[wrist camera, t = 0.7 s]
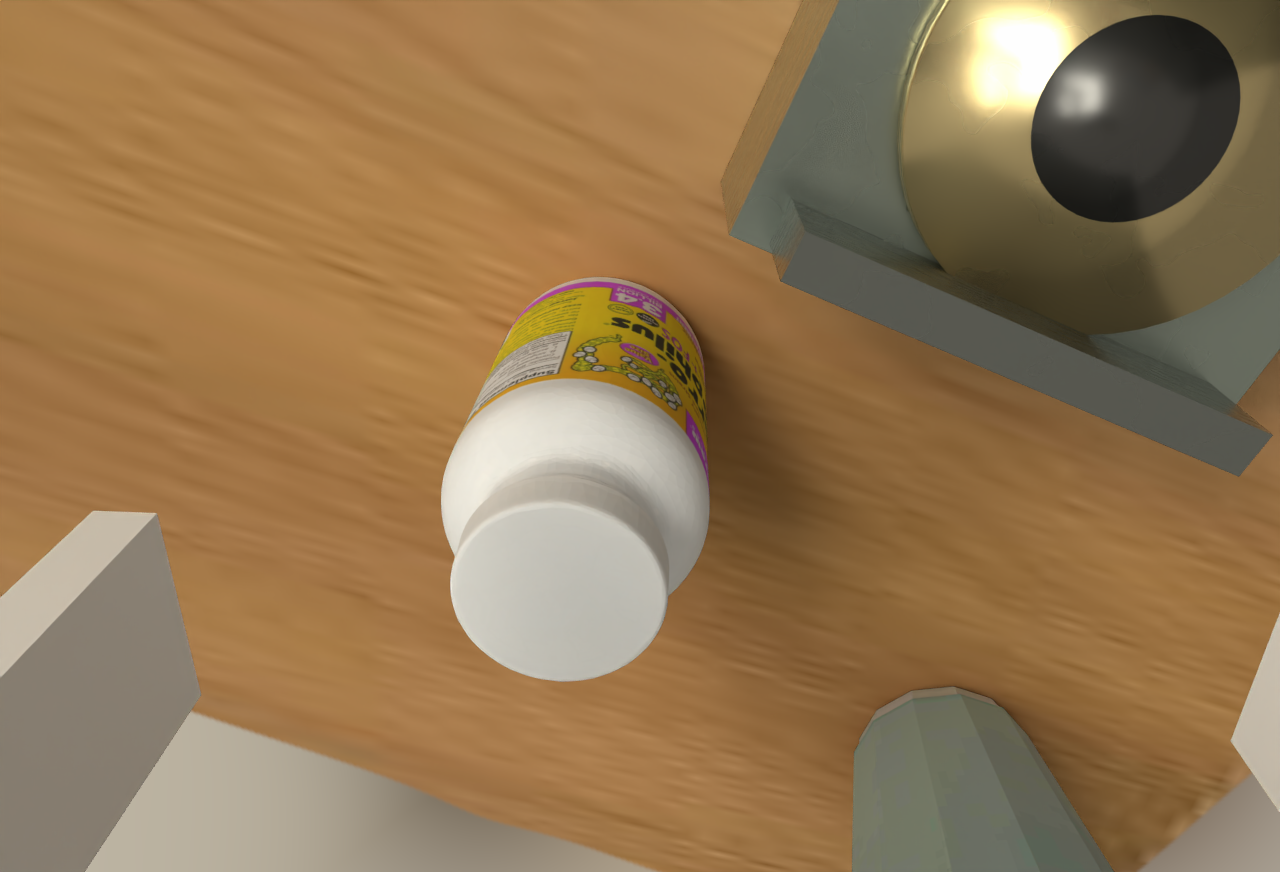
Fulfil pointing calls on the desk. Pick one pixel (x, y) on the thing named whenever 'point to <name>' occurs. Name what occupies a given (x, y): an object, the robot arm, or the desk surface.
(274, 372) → the desk surface
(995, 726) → the disposable coffee cup
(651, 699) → the desk surface
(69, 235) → the desk surface
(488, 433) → the supplement bottle
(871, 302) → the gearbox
